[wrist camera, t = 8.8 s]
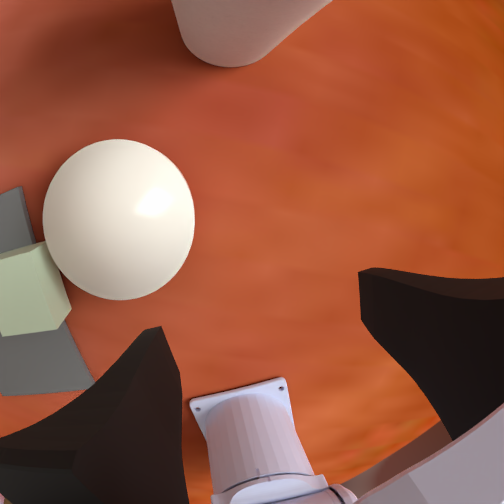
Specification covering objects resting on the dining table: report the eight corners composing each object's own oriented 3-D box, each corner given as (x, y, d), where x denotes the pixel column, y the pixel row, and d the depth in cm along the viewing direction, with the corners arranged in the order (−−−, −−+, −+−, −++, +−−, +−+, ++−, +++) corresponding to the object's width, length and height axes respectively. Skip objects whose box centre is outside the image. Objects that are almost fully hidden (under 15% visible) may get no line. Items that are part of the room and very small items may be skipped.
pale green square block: (71, 308, 19) (57, 329, 16) (19, 317, 18) (2, 336, 15) (50, 239, 17) (30, 251, 15) (-2, 254, 17) (-24, 266, 14)
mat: (96, 383, 21) (94, 388, 21) (5, 392, 20) (2, 396, 19) (22, 186, 17) (17, 186, 16) (-65, 229, 15) (-69, 231, 15)
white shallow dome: (208, 264, 20) (211, 280, 18) (85, 294, 19) (71, 313, 17) (177, 127, 18) (175, 120, 15) (48, 167, 17) (28, 168, 14)
